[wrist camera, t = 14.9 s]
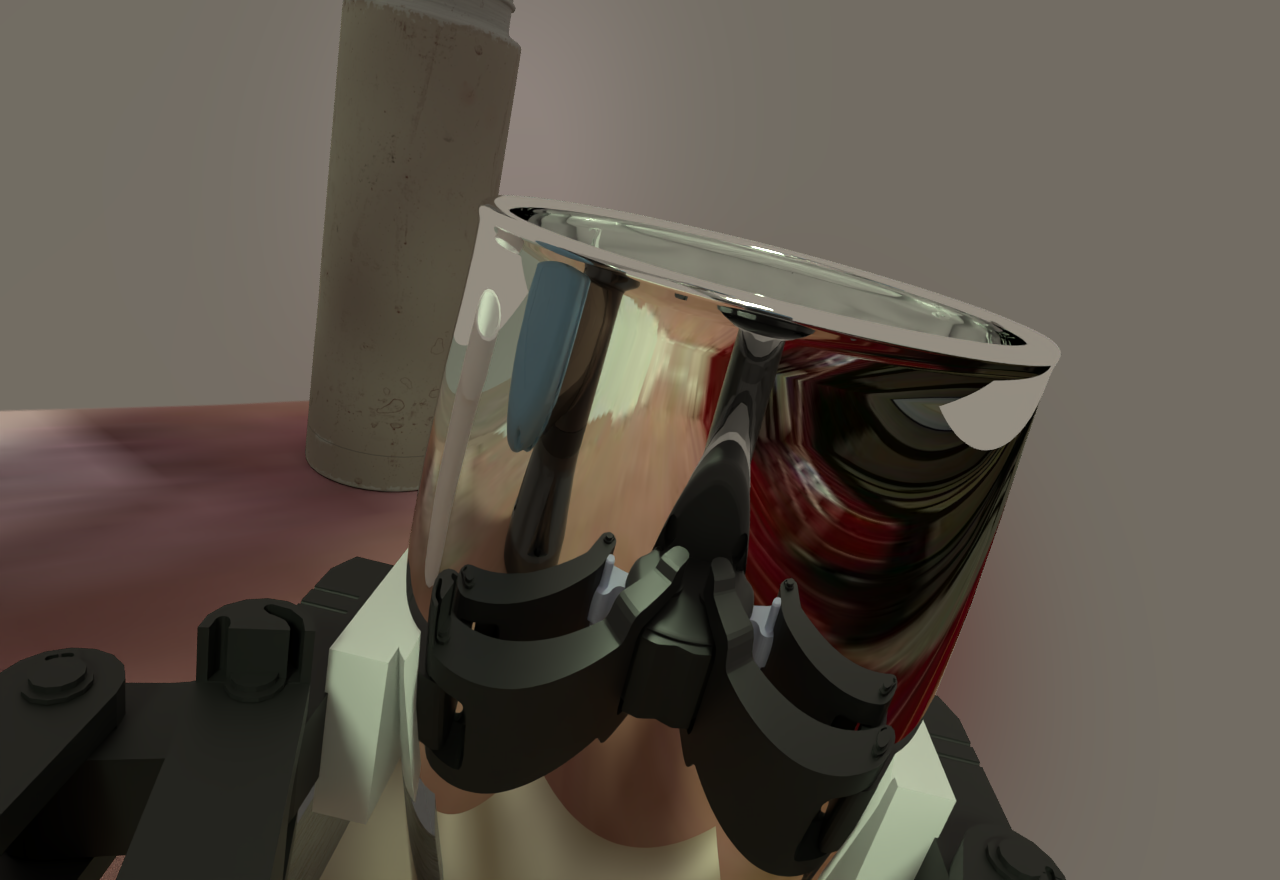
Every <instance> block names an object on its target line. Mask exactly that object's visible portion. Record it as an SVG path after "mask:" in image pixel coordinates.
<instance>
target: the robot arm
mask: <svg viewBox="0 0 1280 880" xmlns="http://www.w3.org/2000/svg"><path fill="white" fill-rule="evenodd" d="M407 557H408V549H407V550H406V551H405V553H404V554H403V555H402V556H401V558H400V559H399V560H398V561H397V563H396V564H395V565H389V564H385V563H381V562H377V561H373V560H369V559H365V558H361V557H355V558H353V559H350V560H348V561H346V562H344V563H342V564H340V565H338V566H335V567H333V568H331V569H330V570H329V571H328V572H327V573H326V574H325V576H324V577H323V578H322V579H321V580H320V581H319V582H318V583H317V584H316V585H315V588H314V589H311V591H310V592H309V593H308V594H307V595H306V596H305V597H304V598H303V599H302V601H301V604H299V603H298V604H297V605H295V604H293V603H291V602H288V601H282V600H276V599H269V598H265V599H248V600H243V601H239V602H235V603H231V604H228V605H224V606H223V607H221V608H219V609H217V610H216V611H214V612H212V613H210V614H208V615H207V617H206V618H205V619H204V620H203V621H202V623H201V624H200V625H199V626H198V636H197V666H196V681H192V682H180V683H125V670H124V665H123V664H122V663H121V662H120V661H119V660H118V659H117V658H116V657H115V656H114V655H112V654H109V653H106V652H103V651H100V650H97V649H87V648H66V649H60V650H53V651H47V652H43V653H40V654H37V655H35V656H32V657H29V658H26V659H23V660H20V661H19V662H17V663H15V664H14V665H12V666H10V667H9V668H7V669H6V670H4V671H2V672H1V673H0V880H100V878H101V877H102V875H103V874H104V873H105V871H106V870H107V869H108V867H109V866H110V864H111V863H112V862H113V860H114V859H115V858H116V856H119V855H126V856H125V858H124V861H123V863H122V866H121V868H120V871H119V873H118V876H117V878H116V880H287V878H288V873H289V867H290V862H291V856H292V851H293V846H294V840H295V835H296V826H297V816H298V809H299V808H300V806H301V805H302V803H303V802H304V800H305V798H306V797H307V795H308V794H309V792H310V790H311V789H312V787H313V786H314V784H315V789H314V798H313V808H312V812H315V813H320V814H324V815H328V816H332V817H336V818H340V819H344V820H349V821H353V822H357V823H361V824H365V825H366V823H367V821H368V820H369V818H370V816H371V814H372V812H373V810H374V808H375V806H376V804H377V802H378V800H379V798H380V796H381V794H382V792H383V790H384V788H385V786H386V784H387V783H388V781H389V779H390V777H391V775H392V773H393V771H394V769H395V767H396V765H397V763H398V761H399V759H400V757H401V748H400V732H399V635H400V625H401V615H402V605H403V596H404V586H405V576H406V566H407ZM979 763H980V762H979V759H978V757H977V755H976V753H975V751H974V749H973V747H970V741H969V738H968V736H967V735H966V732H965V730H964V728H963V726H962V724H961V722H960V720H959V718H958V717H957V716H956V715H955V714H954V713H953V712H952V711H951V710H950V709H949V707H948V706H947V705H946V704H945V703H944V702H943V701H942V700H941V699H940V698H939V697H938V696H936V695H935V696H934V699H933V701H932V703H931V705H930V707H929V709H928V711H927V713H926V715H925V717H924V719H923V721H922V723H921V725H920V727H919V729H918V731H917V733H916V735H915V737H914V739H913V741H912V743H911V745H910V747H909V749H908V751H907V753H906V755H905V757H904V759H903V761H902V763H901V765H900V767H899V769H898V771H897V773H896V775H895V777H894V779H893V781H892V783H891V785H890V787H889V789H888V791H887V793H886V794H885V796H884V798H883V799H882V801H881V802H880V804H879V805H878V807H877V808H876V810H875V811H874V813H873V815H872V816H871V818H870V819H869V821H868V822H867V824H866V825H865V827H864V828H863V830H862V831H861V833H860V834H859V836H858V837H857V839H856V840H855V842H854V843H853V845H852V847H851V848H850V850H849V851H848V853H847V854H846V856H845V857H844V859H843V860H842V862H841V863H840V865H839V866H838V868H837V869H836V871H835V872H834V874H833V875H832V877H831V878H830V879H829V880H1066V879H1065V876H1064V875H1063V873H1062V872H1061V871H1060V869H1059V868H1058V867H1057V866H1056V864H1055V863H1054V861H1053V860H1052V859H1051V858H1050V857H1049V856H1048V855H1047V854H1046V853H1045V852H1043V851H1042V850H1041V849H1040V848H1039V847H1038V846H1037V845H1035V844H1034V843H1033V842H1032V841H1030V840H1028V839H1027V838H1025V837H1023V836H1021V835H1020V834H1018V833H1016V832H1015V831H1013V830H1012V829H1011V827H1010V825H1009V823H1008V820H1007V818H1006V816H1005V814H1004V812H1003V810H1002V808H1001V806H1000V804H999V801H998V799H997V797H996V795H995V793H994V791H993V789H992V787H991V785H990V783H989V781H988V778H987V776H986V774H985V772H984V770H983V768H982V767H980V766H979Z"/></svg>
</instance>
